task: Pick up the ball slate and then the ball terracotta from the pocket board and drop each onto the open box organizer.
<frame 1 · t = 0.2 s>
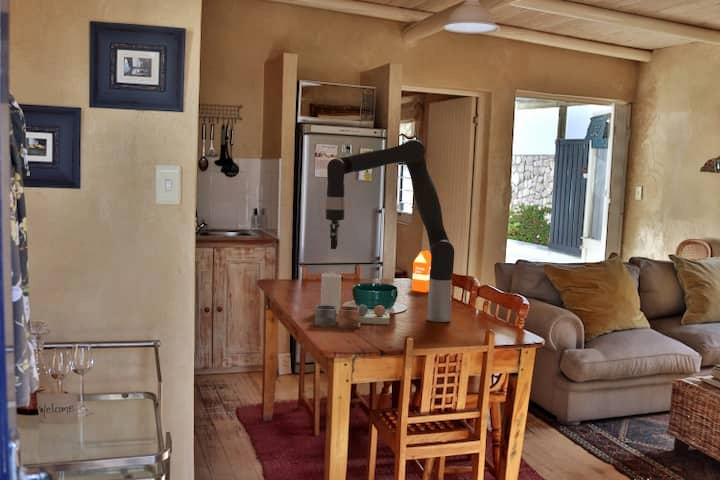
hand: (334, 247, 282), 28 cm above the table, fingers open, 8 cm apart
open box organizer: (336, 325, 269), on the table
orange juice: (422, 290, 350), on the table
ball slate: (361, 315, 278), point 2 cm above the table, touching pocket board
pocket board: (370, 320, 279), on the table
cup: (330, 312, 291), on the table
ball terracotta: (379, 316, 278), point 2 cm above the table, touching pocket board
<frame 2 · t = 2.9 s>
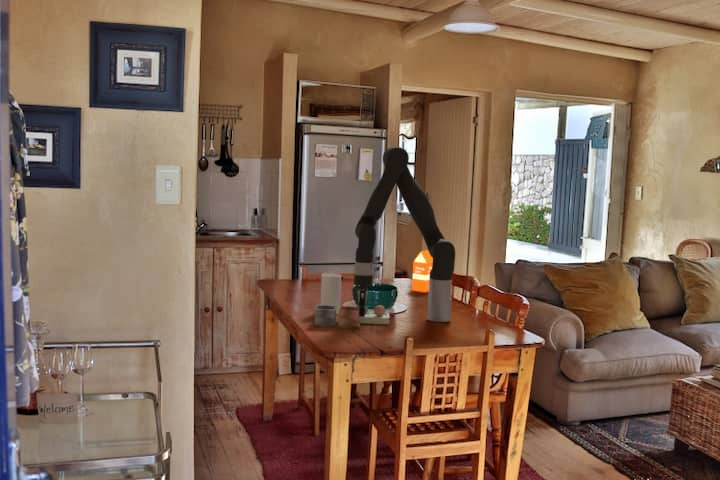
hand: (361, 314, 278), 2 cm above the table, fingers closed on ball slate, 4 cm apart
ball slate: (361, 315, 278), point 2 cm above the table, touching gripper, pocket board
everything else where it was.
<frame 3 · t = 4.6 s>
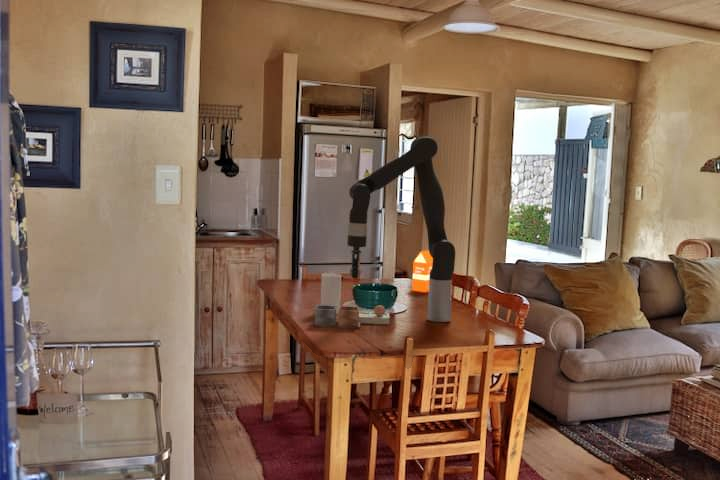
hand: (354, 276, 275), 18 cm above the table, fingers closed on ball slate, 4 cm apart
ball slate: (354, 277, 275), point 18 cm above the table, touching gripper
everything else where it was.
when the fingers open (8 cm above the table, at t = 6.6 s): ball slate drops 7 cm, resting on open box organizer.
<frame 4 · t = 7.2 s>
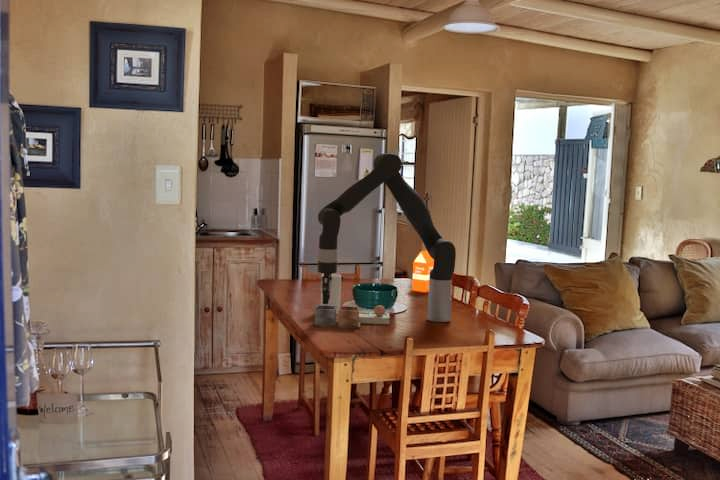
hand: (326, 301, 268), 9 cm above the table, fingers open, 8 cm apart
ball slate: (325, 322, 269), point 1 cm above the table, touching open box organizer
everything else where it was.
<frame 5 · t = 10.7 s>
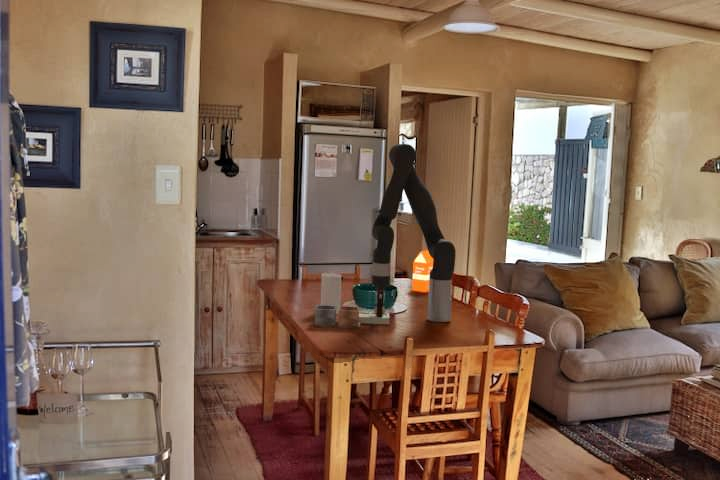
hand: (379, 315, 278), 2 cm above the table, fingers closed on ball terracotta, 4 cm apart
ball terracotta: (379, 316, 278), point 2 cm above the table, touching gripper, pocket board
everything else where it was.
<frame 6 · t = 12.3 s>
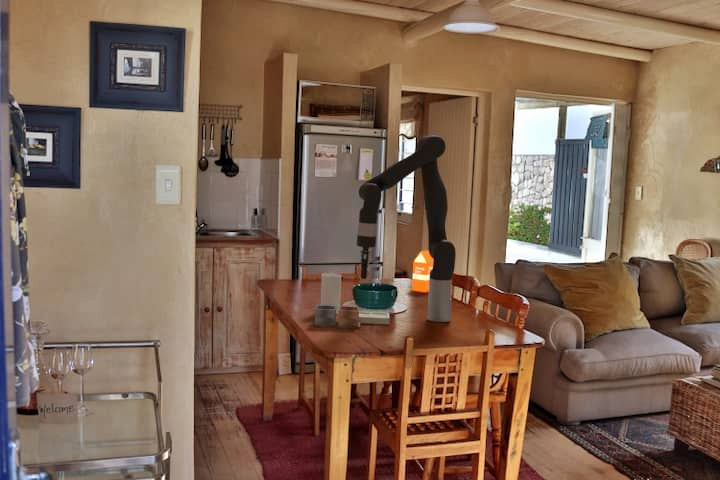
hand: (363, 277, 272), 18 cm above the table, fingers closed on ball terracotta, 4 cm apart
ball terracotta: (363, 278, 272), point 18 cm above the table, touching gripper
everything else where it was.
when the fingers open (8 cm above the table, at t = 14.1 s): ball terracotta drops 7 cm, resting on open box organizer.
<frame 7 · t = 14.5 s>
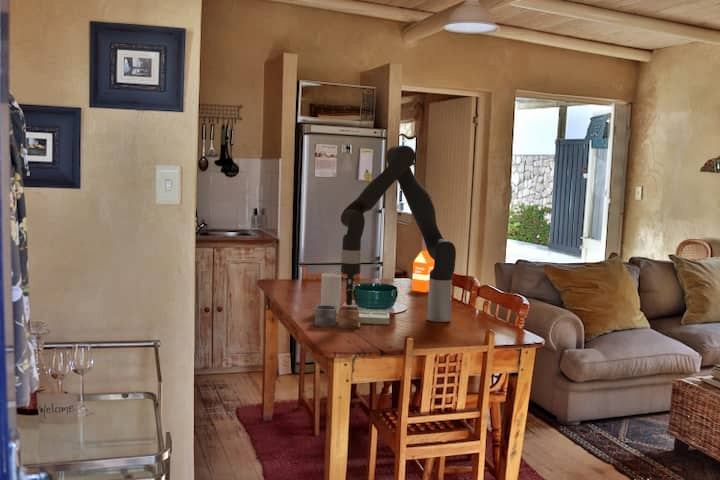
hand: (349, 302, 268), 9 cm above the table, fingers open, 8 cm apart
ball terracotta: (348, 323, 269), point 1 cm above the table, touching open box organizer
everything else where it was.
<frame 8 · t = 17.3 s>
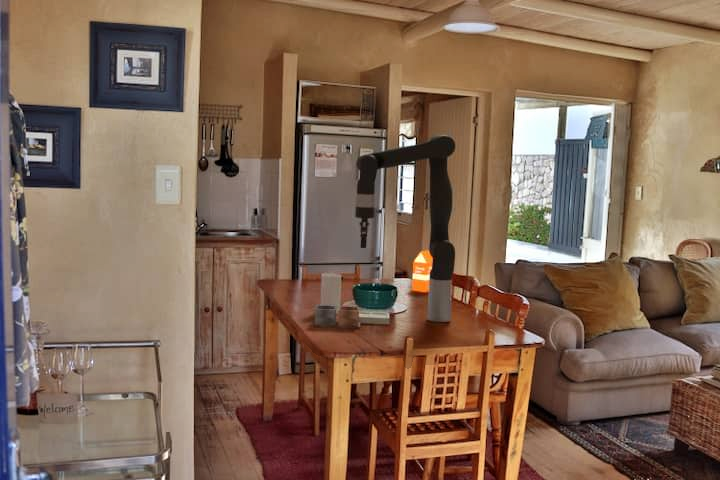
hand: (363, 246, 274), 30 cm above the table, fingers open, 8 cm apart
nothing on the table moved.
at the end: ball slate 0.0 cm from the target spot on the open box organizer, point 0.8 cm above the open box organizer's base; ball terracotta 0.0 cm from the target spot on the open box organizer, point 0.8 cm above the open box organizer's base; the gripper is holding nothing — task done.
